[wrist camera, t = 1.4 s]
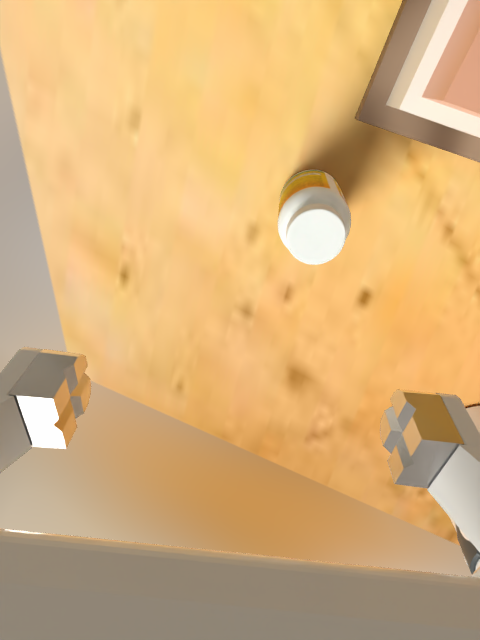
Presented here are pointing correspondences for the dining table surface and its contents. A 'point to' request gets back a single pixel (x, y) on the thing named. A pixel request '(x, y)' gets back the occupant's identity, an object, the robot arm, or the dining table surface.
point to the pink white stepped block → (444, 68)
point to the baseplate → (385, 79)
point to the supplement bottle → (313, 217)
